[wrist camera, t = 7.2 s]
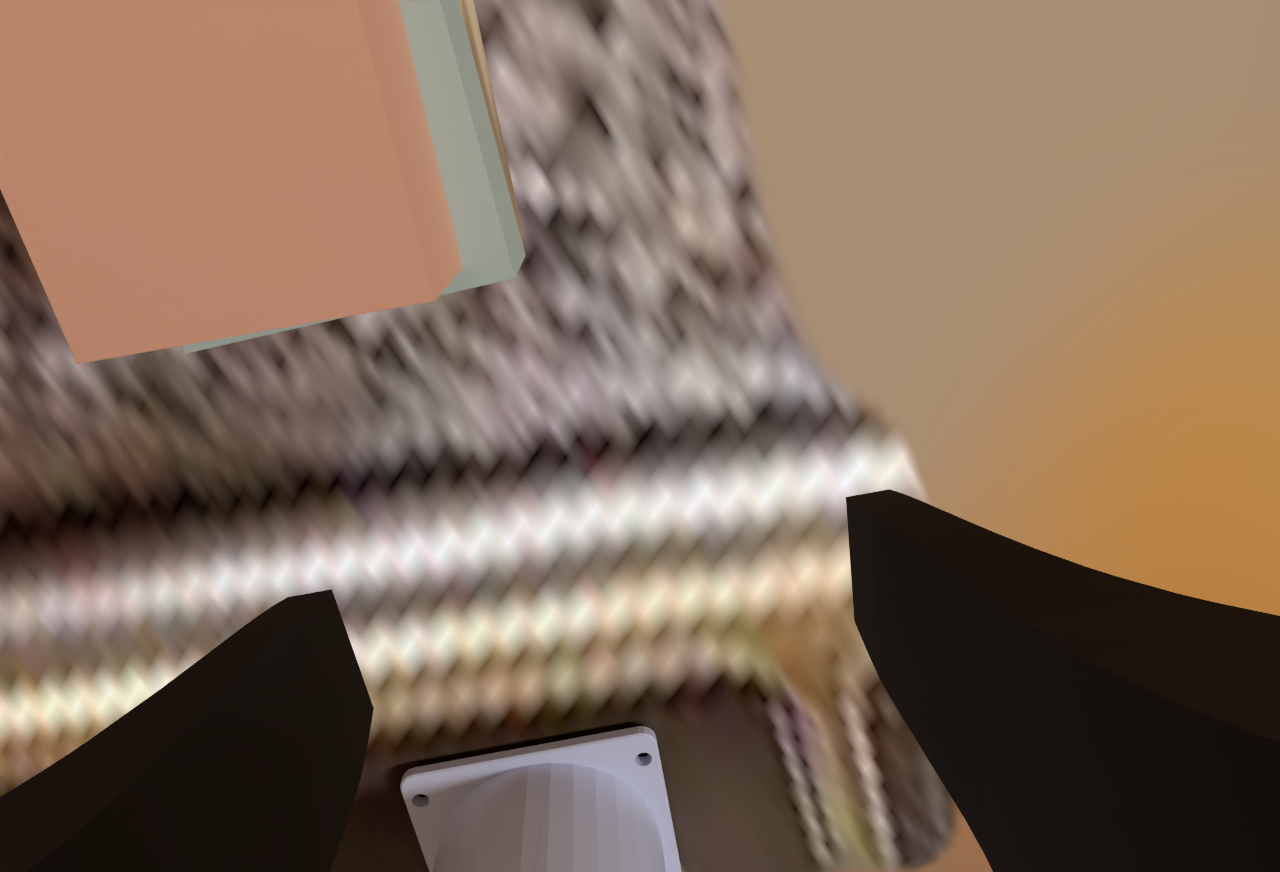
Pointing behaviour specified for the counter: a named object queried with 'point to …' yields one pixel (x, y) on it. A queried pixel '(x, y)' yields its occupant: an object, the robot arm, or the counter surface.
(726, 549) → the counter surface
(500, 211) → the middle block
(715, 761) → the counter surface
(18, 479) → the counter surface
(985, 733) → the robot arm
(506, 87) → the counter surface
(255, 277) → the terracotta block
